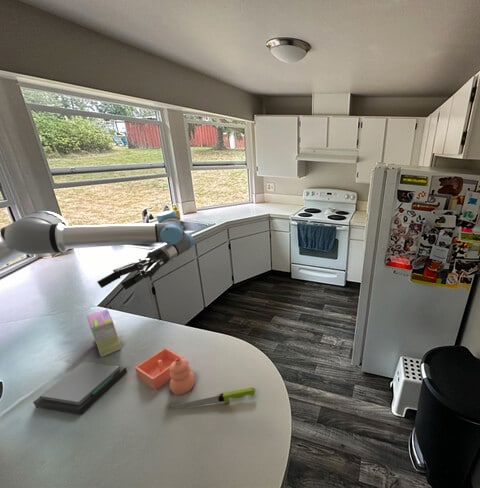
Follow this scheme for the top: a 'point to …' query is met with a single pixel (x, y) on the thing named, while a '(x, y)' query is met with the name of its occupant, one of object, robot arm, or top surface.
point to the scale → (80, 388)
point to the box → (104, 332)
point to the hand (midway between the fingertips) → (111, 285)
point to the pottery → (166, 371)
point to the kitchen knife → (217, 398)
